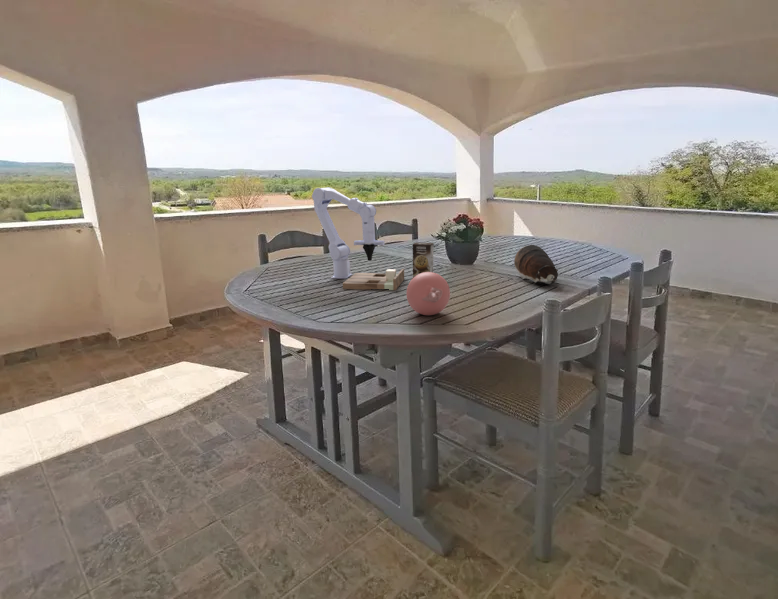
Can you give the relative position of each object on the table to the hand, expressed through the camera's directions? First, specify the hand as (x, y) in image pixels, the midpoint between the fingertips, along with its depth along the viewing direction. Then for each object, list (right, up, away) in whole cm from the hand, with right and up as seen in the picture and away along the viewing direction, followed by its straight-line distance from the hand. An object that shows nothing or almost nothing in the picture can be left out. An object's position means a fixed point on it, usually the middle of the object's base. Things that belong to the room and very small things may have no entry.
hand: (369, 260), depth 216 cm
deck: (+2, -11, -6) cm, 13 cm away
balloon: (+23, -25, -55) cm, 64 cm away
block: (+10, -9, -8) cm, 16 cm away
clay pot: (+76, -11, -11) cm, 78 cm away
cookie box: (+26, -7, +7) cm, 28 cm away
